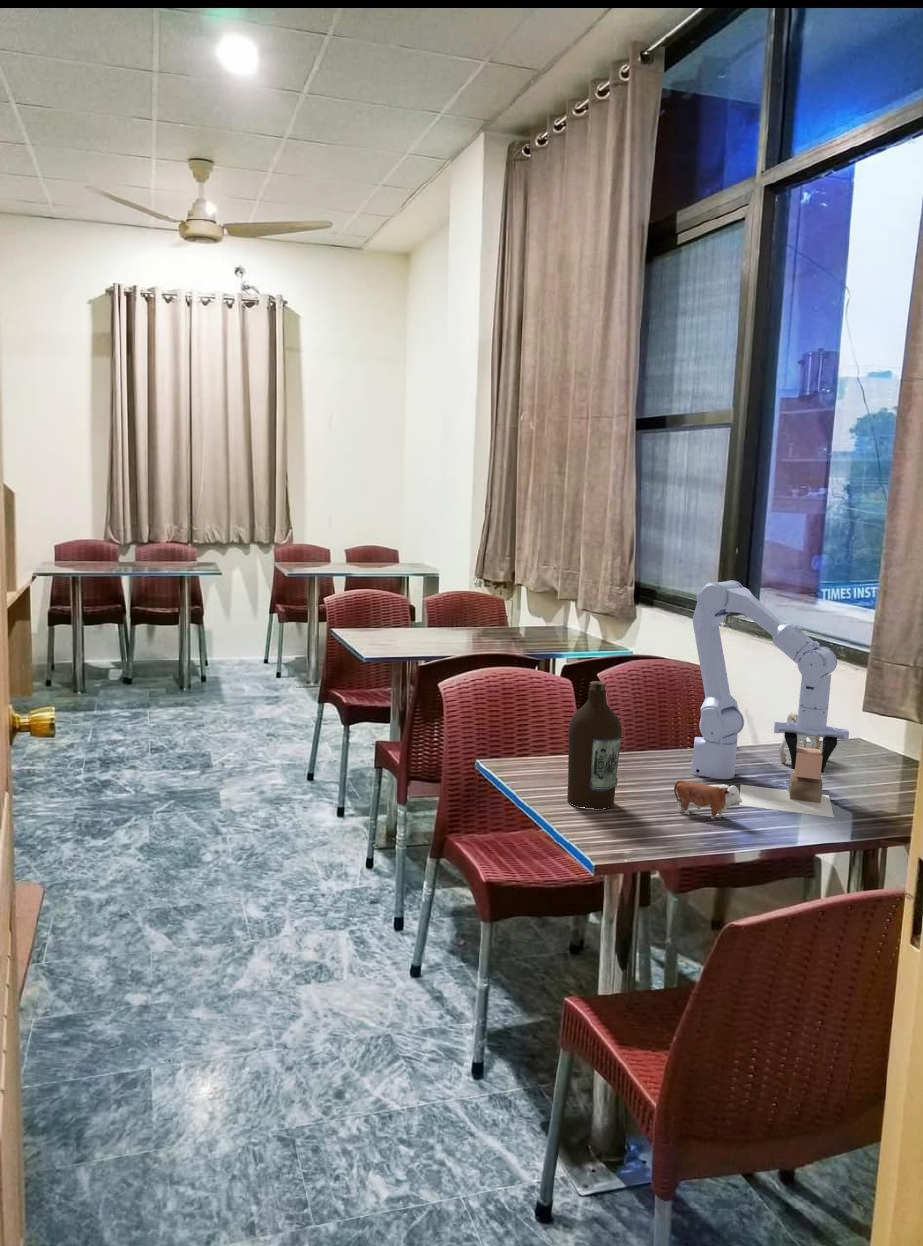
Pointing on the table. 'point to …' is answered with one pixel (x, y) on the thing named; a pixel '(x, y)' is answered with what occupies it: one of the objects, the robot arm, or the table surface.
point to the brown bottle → (593, 752)
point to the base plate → (782, 801)
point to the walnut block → (805, 789)
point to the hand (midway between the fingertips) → (807, 769)
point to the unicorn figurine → (798, 738)
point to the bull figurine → (706, 796)
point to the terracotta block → (808, 763)
